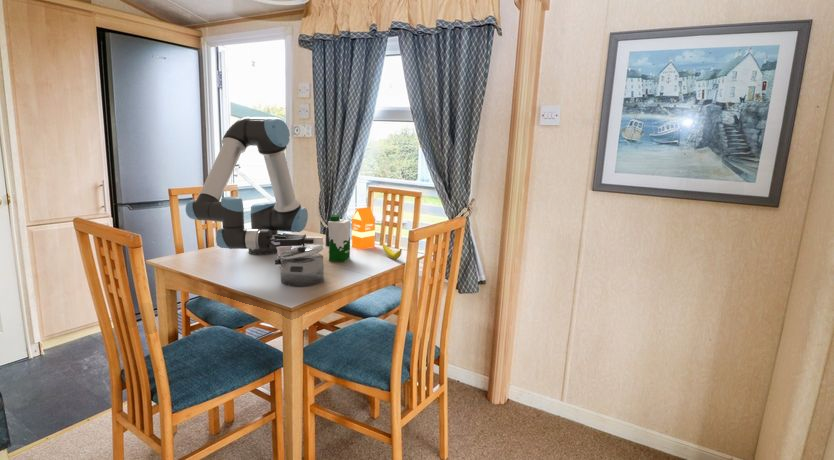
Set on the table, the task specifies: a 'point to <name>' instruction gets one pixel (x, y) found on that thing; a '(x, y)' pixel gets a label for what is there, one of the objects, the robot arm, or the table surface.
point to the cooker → (302, 270)
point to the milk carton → (339, 239)
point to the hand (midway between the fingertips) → (322, 240)
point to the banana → (391, 252)
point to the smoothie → (282, 250)
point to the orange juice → (363, 228)
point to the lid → (301, 252)
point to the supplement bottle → (327, 236)
